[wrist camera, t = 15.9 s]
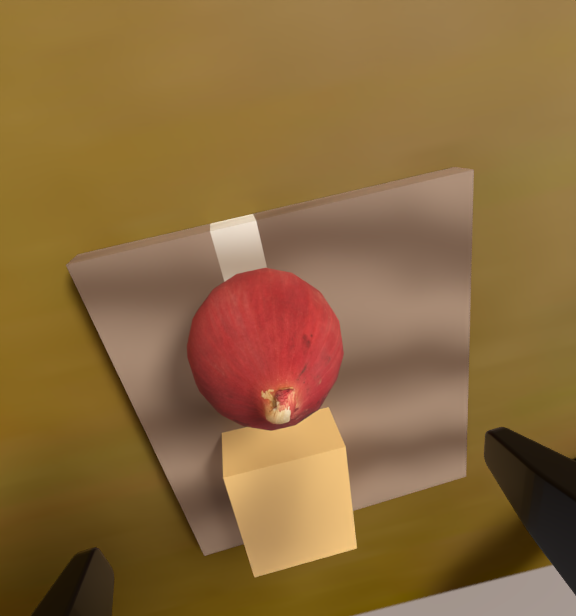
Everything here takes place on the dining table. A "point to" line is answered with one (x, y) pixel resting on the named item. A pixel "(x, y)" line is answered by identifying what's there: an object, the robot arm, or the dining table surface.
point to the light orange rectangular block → (290, 492)
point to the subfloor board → (353, 324)
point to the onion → (265, 349)
